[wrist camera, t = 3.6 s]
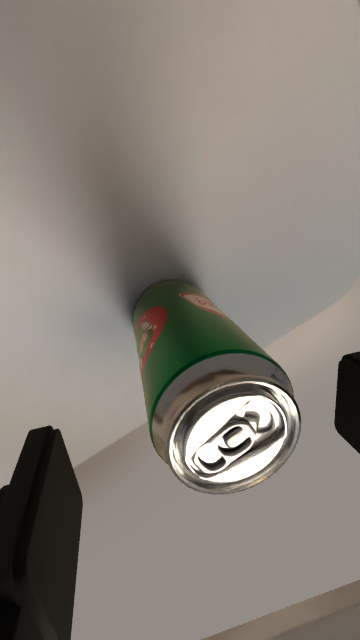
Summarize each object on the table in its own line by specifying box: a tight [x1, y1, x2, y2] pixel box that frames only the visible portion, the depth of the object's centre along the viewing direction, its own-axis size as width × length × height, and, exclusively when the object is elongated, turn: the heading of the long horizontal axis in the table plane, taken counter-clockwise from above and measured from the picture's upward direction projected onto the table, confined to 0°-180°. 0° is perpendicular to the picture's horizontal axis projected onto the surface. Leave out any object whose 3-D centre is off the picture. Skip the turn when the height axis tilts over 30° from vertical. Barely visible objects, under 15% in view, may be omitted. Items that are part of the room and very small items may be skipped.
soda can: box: [133, 280, 301, 494], centre depth 15 cm, size 5×5×12 cm
